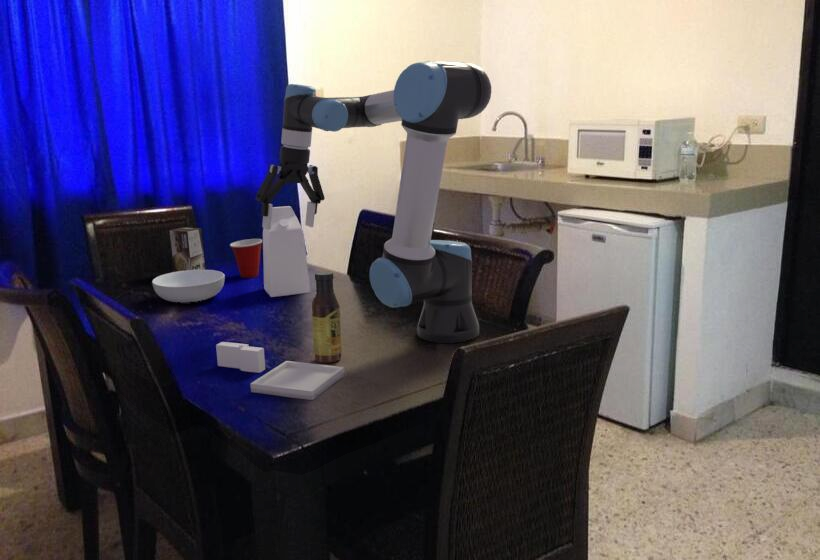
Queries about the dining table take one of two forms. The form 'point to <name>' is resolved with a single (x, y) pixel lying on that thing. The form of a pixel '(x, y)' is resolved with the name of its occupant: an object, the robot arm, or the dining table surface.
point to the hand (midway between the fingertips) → (288, 227)
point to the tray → (298, 380)
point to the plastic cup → (247, 256)
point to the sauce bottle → (326, 320)
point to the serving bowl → (189, 285)
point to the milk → (285, 255)
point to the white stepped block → (240, 356)
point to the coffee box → (187, 249)
